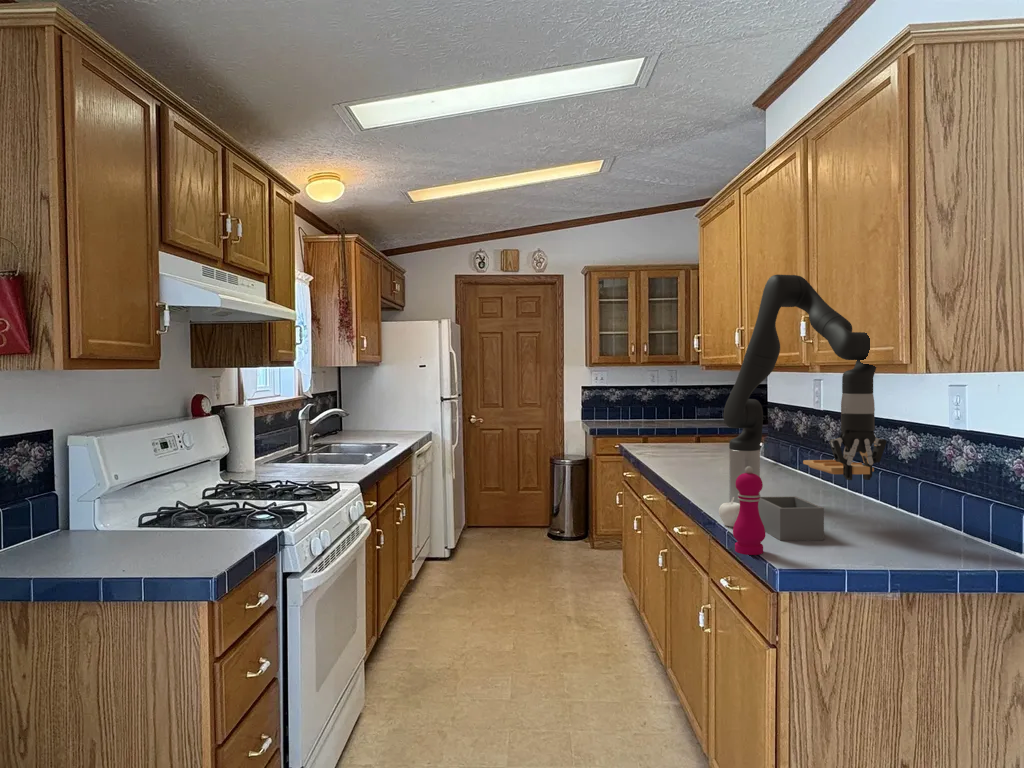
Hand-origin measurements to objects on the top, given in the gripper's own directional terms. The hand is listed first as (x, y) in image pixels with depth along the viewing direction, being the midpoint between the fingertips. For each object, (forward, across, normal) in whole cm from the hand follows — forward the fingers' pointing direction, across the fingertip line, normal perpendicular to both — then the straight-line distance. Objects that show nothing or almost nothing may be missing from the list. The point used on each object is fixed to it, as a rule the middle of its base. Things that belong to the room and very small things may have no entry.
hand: (857, 479), depth 173 cm
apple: (+15, +27, -15) cm, 34 cm away
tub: (+15, +15, -6) cm, 22 cm away
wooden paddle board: (-1, 0, -8) cm, 8 cm away
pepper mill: (+15, +32, +12) cm, 37 cm away
